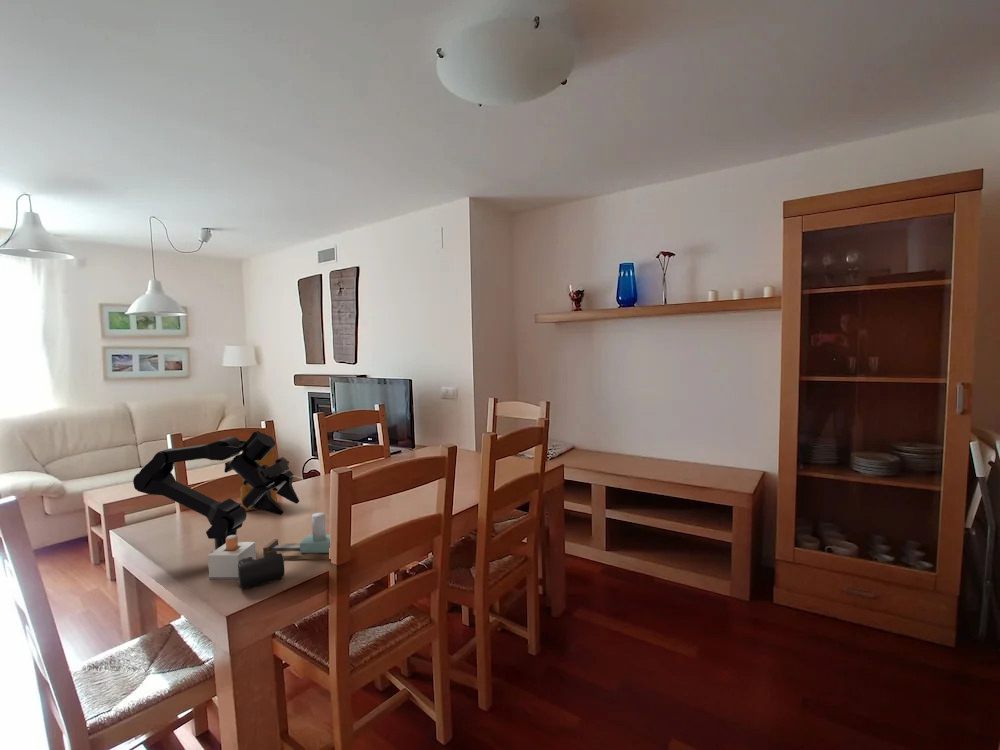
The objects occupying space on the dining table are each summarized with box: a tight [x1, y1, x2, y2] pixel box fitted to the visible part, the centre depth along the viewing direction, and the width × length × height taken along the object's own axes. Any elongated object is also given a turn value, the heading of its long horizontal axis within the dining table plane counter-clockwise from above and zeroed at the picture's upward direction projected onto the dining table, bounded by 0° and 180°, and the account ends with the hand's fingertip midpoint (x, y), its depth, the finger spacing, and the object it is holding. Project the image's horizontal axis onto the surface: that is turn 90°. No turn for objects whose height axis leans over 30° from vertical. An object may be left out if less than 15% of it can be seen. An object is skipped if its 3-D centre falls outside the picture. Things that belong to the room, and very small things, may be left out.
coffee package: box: [239, 447, 278, 512], centre depth 175 cm, size 10×12×22 cm
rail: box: [262, 538, 329, 561], centre depth 135 cm, size 21×8×3 cm, turn 88°
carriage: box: [299, 512, 331, 553], centre depth 134 cm, size 9×6×10 cm, turn 88°
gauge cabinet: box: [207, 541, 257, 581], centre depth 124 cm, size 8×8×6 cm
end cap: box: [238, 551, 285, 591], centre depth 118 cm, size 10×7×7 cm
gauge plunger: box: [226, 534, 239, 551], centre depth 124 cm, size 3×3×4 cm
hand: (290, 508), depth 134 cm, fingers open, 9 cm apart
